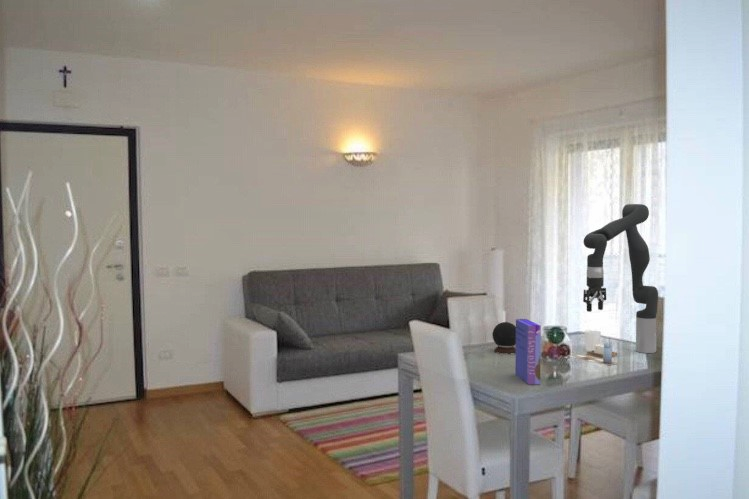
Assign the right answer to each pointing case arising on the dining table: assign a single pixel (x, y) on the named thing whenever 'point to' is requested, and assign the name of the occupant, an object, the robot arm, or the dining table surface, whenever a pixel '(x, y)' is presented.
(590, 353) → the tray
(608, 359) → the pale blue capsule
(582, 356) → the board
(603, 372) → the dining table surface
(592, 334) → the white cup
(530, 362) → the cereal box
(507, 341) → the black orb on stand
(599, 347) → the die
